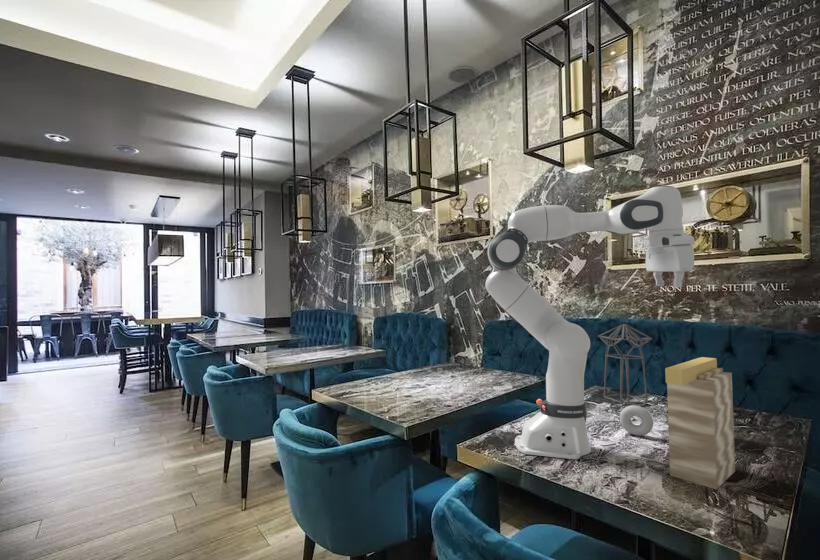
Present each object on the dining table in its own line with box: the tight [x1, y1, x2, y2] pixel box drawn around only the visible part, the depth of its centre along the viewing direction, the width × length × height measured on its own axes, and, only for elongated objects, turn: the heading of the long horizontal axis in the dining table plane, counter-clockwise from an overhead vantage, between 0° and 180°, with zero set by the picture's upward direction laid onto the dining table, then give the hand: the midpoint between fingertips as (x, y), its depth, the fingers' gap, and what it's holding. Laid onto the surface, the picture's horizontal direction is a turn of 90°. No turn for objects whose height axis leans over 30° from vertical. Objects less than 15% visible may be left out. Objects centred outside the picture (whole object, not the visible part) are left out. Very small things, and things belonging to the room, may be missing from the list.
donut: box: [619, 404, 654, 437], centre depth 135 cm, size 10×4×10 cm, turn 52°
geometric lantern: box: [597, 323, 653, 413], centre depth 165 cm, size 16×16×35 cm
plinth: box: [666, 367, 736, 490], centre depth 107 cm, size 16×10×27 cm, turn 128°
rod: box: [664, 356, 718, 385], centre depth 105 cm, size 26×4×4 cm, turn 128°
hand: (668, 286), depth 121 cm, fingers open, 8 cm apart
